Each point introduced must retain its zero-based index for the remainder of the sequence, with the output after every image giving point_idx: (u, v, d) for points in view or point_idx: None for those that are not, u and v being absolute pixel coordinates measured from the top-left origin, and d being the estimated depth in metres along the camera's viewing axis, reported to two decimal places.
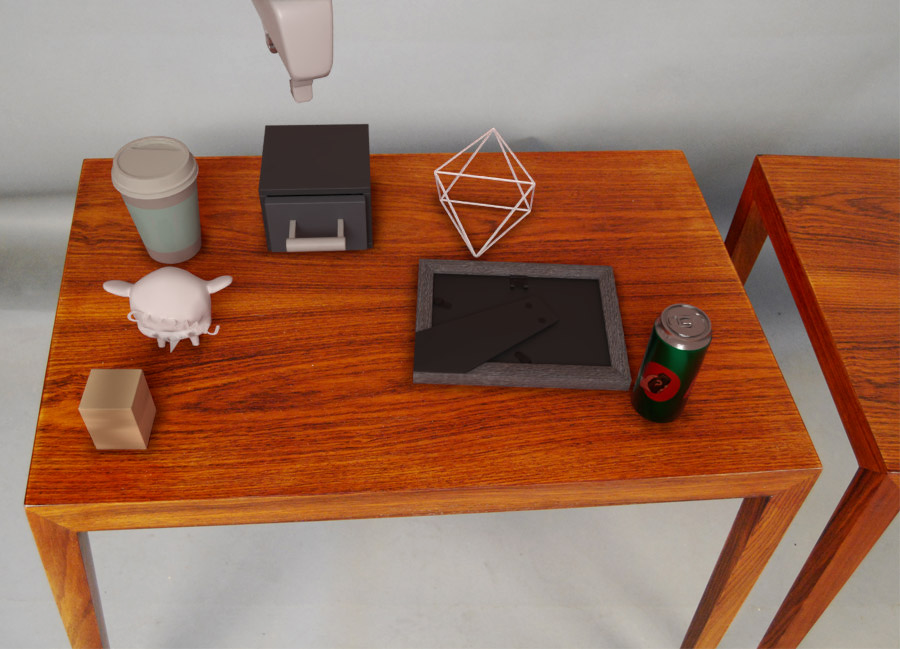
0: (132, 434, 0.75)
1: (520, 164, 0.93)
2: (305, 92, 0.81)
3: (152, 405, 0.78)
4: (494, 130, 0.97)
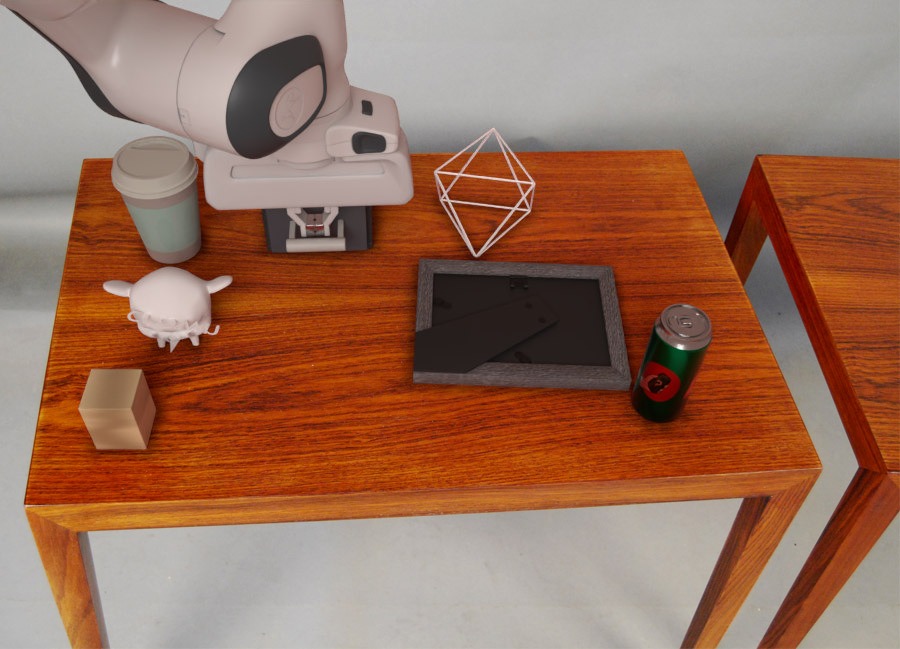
0: (132, 434, 0.75)
1: (520, 164, 0.93)
2: None
3: (152, 405, 0.78)
4: (494, 130, 0.97)
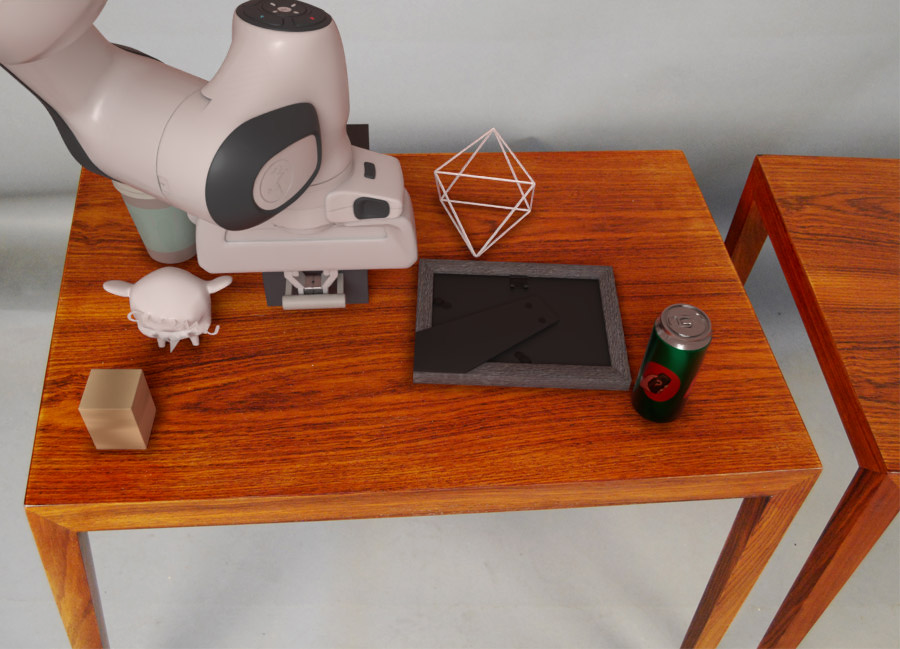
0: (132, 434, 0.75)
1: (520, 164, 0.93)
2: None
3: (152, 405, 0.78)
4: (494, 130, 0.97)
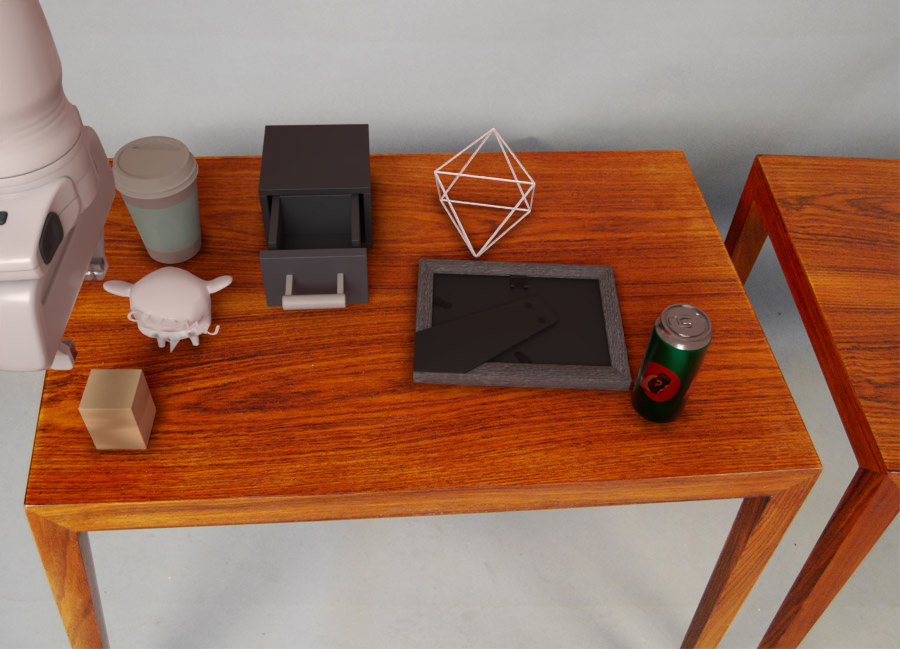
0: (132, 434, 0.75)
1: (520, 164, 0.93)
2: (61, 361, 0.63)
3: (152, 405, 0.78)
4: (494, 130, 0.97)
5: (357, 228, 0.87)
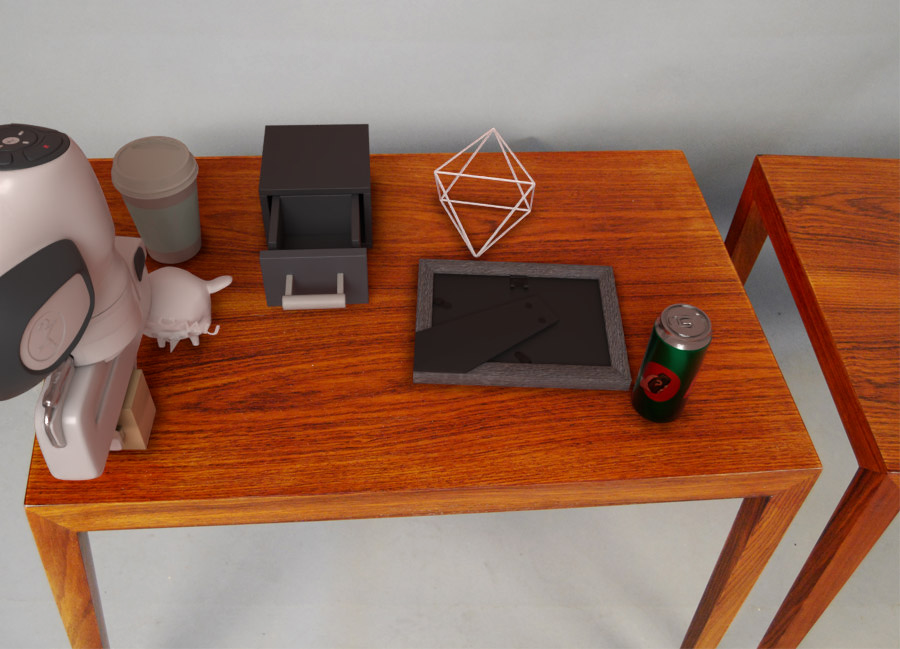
0: (132, 434, 0.75)
1: (520, 164, 0.93)
2: None
3: (152, 406, 0.78)
4: (494, 130, 0.97)
5: (357, 228, 0.87)
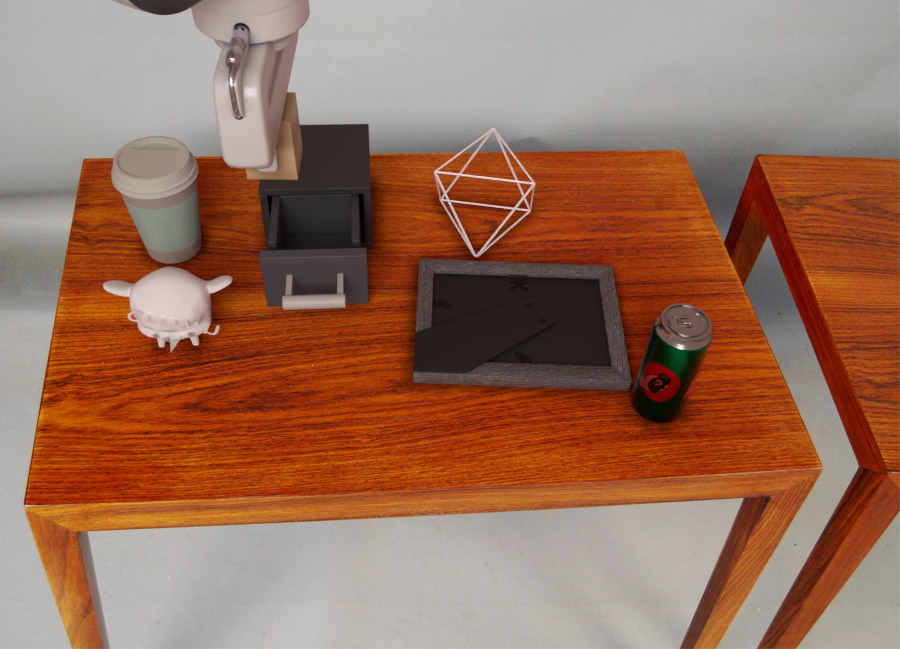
0: (286, 157, 0.73)
1: (520, 164, 0.93)
2: None
3: (300, 141, 0.77)
4: (494, 130, 0.97)
5: (357, 228, 0.87)
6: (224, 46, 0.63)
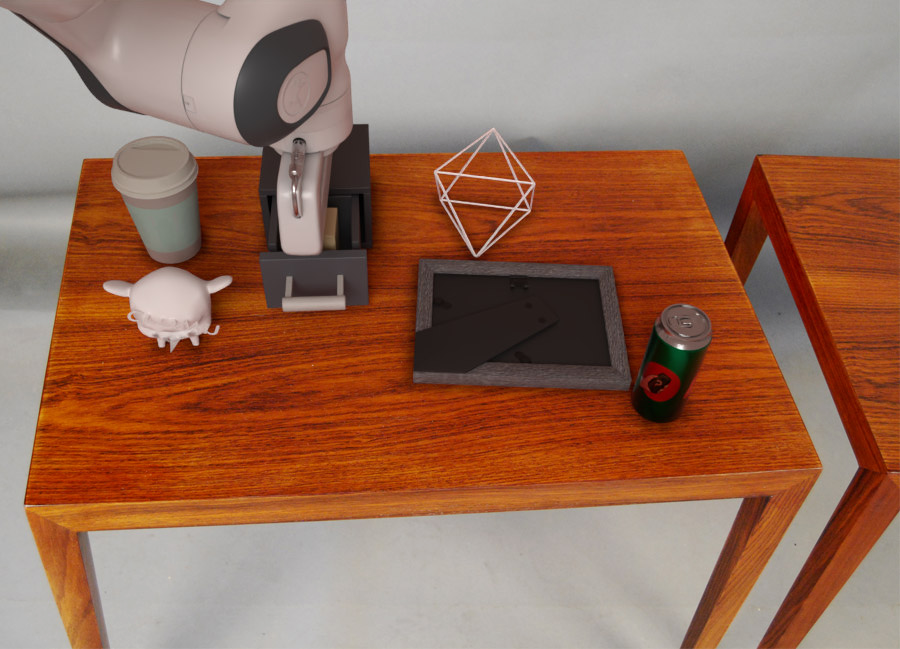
0: None
1: (520, 164, 0.93)
2: None
3: (339, 244, 0.91)
4: (494, 130, 0.97)
5: (357, 230, 0.87)
6: (283, 155, 0.75)
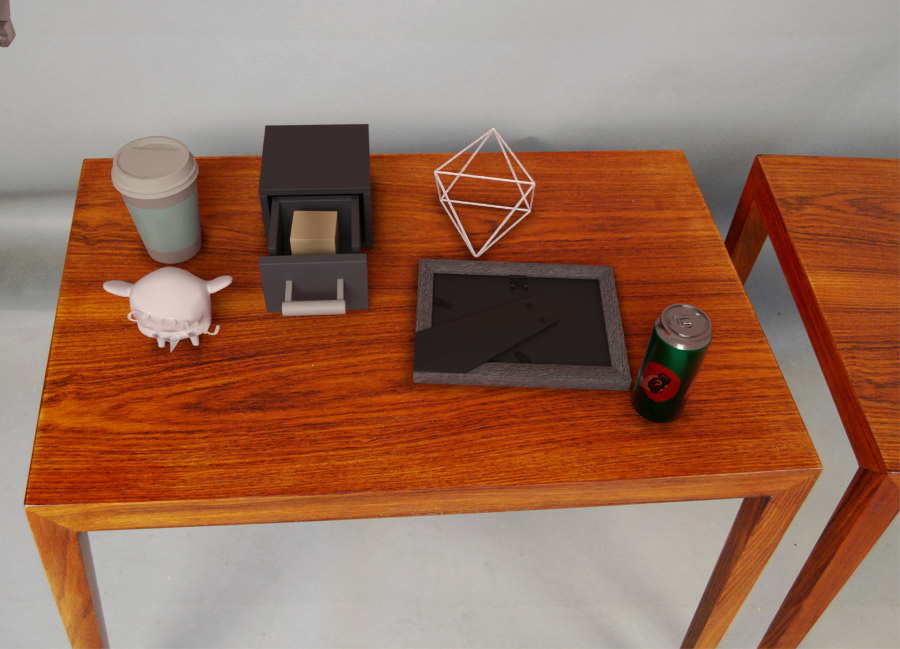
0: None
1: (520, 164, 0.93)
2: None
3: (339, 248, 0.91)
4: (494, 130, 0.97)
5: (357, 233, 0.86)
6: None
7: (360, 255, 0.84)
